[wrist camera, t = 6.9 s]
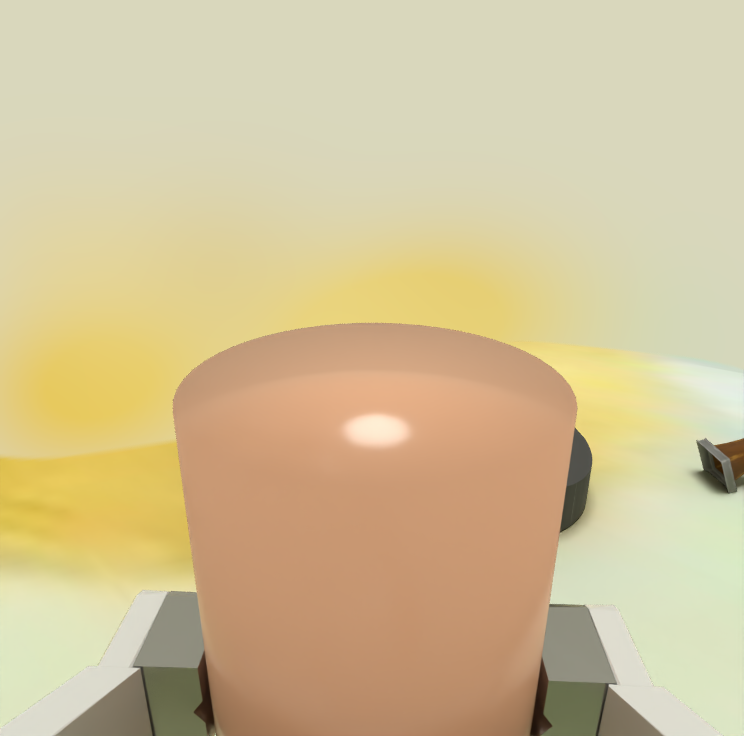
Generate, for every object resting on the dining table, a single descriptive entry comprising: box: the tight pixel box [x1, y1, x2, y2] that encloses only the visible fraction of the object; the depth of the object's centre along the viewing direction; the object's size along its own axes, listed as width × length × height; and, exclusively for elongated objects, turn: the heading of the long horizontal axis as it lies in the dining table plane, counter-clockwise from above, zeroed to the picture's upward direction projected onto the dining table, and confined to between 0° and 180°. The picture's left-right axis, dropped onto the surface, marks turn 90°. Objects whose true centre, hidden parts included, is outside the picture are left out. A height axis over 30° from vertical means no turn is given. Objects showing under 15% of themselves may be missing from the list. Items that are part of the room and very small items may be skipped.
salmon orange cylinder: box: [173, 323, 577, 736], centre depth 10 cm, size 5×5×11 cm
